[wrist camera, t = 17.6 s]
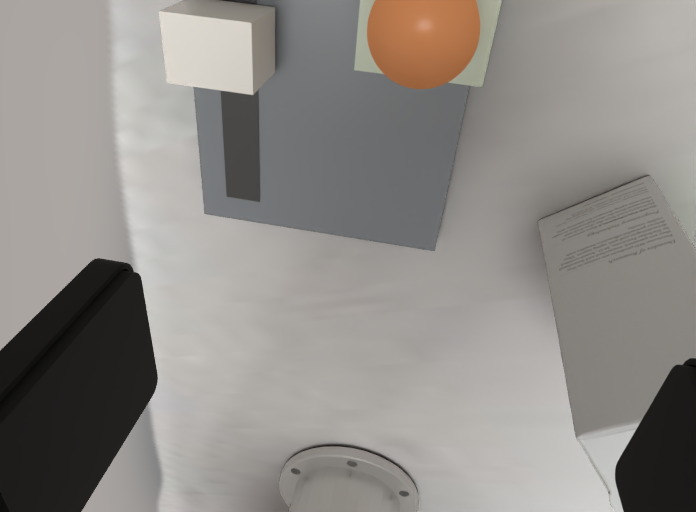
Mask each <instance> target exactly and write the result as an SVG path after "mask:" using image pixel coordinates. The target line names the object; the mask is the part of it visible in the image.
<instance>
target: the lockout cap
mask: <svg viewBox="0 0 696 512" xmlns="http://www.w3.org/2000/svg"><path fill="white" fill-rule="evenodd" d="M479 36H480V16H479V11H478V6H477V0H375V2H374V4H373V6H372V8H371V11H370V14H369V18H368V24H367V41H368V46H369V50H370V53H371V55H372V57H373V60H374V62H375V63H376V65H377V66H378V68H379V69H380V70H381V71H382V72H383V73H384V74H385V75H386V76H387V77H388V78H389V79H391V80H392V81H394V82H395V83H397V84H399V85H402V86H404V87H408V88H412V89H430V88H435V87H438V86H441V85H443V84H445V83H448V82H449V81H451V80H452V79H454V78H455V77H456V76H458V75H459V74H460V73H461V72H462V71H463V70H464V69H465V68H466V66H467V65H468V64H469V62H470V61H471V59H472V57H473V56H474V53H475V51H476V49H477V45H478V42H479Z"/></svg>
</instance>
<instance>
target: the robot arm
mask: <svg viewBox="0 0 696 512" xmlns="http://www.w3.org/2000/svg"><path fill="white" fill-rule="evenodd" d="M157 379H158V377H157V370H156V364H155V358H154V352H153V346H152V340H151V334H150V328H149V322H148V316H147V310H146V304H145V298H144V293H143V287H142V281H141V277H140V275H139V274H138V273H135V272H133V268H132V267H131V265H130V264H128V263H124V262H117V261H112V260H106V259H100V258H98V259H94V260H93V261H91V262H90V263H89V264H88V265H87V266H86V267H85V268H84V269H83V270H82V271H81V272H80V273H79V274H78V275H77V276H76V277H75V278H74V279H73V280H72V281H71V282H70V283H69V284H68V285H67V286H66V287H65V288H64V289H63V290H62V291H61V292H60V293H59V294H58V295H56V296H55V297H54V298H53V299H52V300H51V301H50V302H49V303H48V304H47V305H46V306H45V307H44V308H43V309H42V310H41V311H40V312H39V313H38V314H37V315H36V316H35V317H34V318H33V319H32V320H31V321H30V322H29V323H28V324H27V325H26V326H25V327H24V328H23V329H22V330H21V331H20V332H19V333H18V334H17V335H16V336H15V337H14V338H13V339H12V340H11V341H10V342H9V343H8V344H7V345H6V346H5V347H4V348H3V349H2V350H1V351H0V512H81V511H82V509H83V508H84V506H85V505H86V503H87V501H88V500H89V498H90V496H91V495H92V493H93V492H94V490H95V488H96V487H97V485H98V483H99V482H100V480H101V478H102V477H103V475H104V474H105V472H106V471H107V469H108V467H109V466H110V464H111V462H112V461H113V459H114V457H115V456H116V454H117V453H118V451H119V449H120V448H121V446H122V445H123V443H124V441H125V440H126V438H127V436H128V435H129V433H130V431H131V430H132V428H133V427H134V425H135V423H136V422H137V420H138V419H139V417H140V415H141V414H142V412H143V410H144V409H145V407H146V406H147V404H148V402H149V401H150V399H151V397H152V396H153V394H154V392H155V389H156V385H157ZM615 482H616V486H617V490H618V494H619V497H620V501H621V504H622V508H623V512H696V358H690V359H688V360H686V361H685V362H684V364H683V365H675V366H674V367H673V368H672V369H671V371H670V372H669V374H668V376H667V378H666V379H665V381H664V383H663V384H662V386H661V388H660V390H659V391H658V393H657V395H656V396H655V398H654V400H653V402H652V403H651V405H650V407H649V408H648V410H647V412H646V414H645V415H644V417H643V419H642V420H641V422H640V424H639V426H638V427H637V429H636V431H635V432H634V434H633V436H632V438H631V439H630V441H629V443H628V444H627V446H626V448H625V450H624V451H623V453H622V455H621V456H620V458H619V460H618V462H617V464H616V469H615ZM279 490H280V494H281V497H282V498H283V500H284V502H285V503H286V505H287V506H288V507H289V508H290V509H289V512H417V509H418V492H417V490H416V487H415V485H414V483H413V482H412V481H411V479H410V478H409V477H408V476H407V475H406V474H405V473H404V472H403V471H402V470H401V469H400V468H399V467H397V466H396V465H394V464H393V463H391V462H390V461H388V460H386V459H384V458H382V457H380V456H378V455H375V454H372V453H369V452H367V451H363V450H359V449H354V448H348V447H339V446H326V447H318V448H312V449H309V450H306V451H303V452H300V453H298V454H297V455H295V456H293V457H292V458H291V459H290V460H289V461H288V462H287V463H286V464H285V466H284V468H283V469H282V473H281V476H280V480H279Z"/></svg>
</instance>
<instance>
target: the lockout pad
mask: <svg viewBox="0 0 696 512" xmlns="http://www.w3.org/2000/svg"><path fill="white" fill-rule="evenodd" d="M374 2H375V0H360V7H359V19H358V30H357V42H356V54H355V65H354V70H357V71H364V72H372V73H379V74H384V73H383V72H382V71H381V70H380V69H379V68H378V66H377V65H376V63H375V62H374V60H373V57H372V55H371V53H370V50H369V46H368V41H367V24H368V18H369V14H370V11H371V8H372V6H373V4H374ZM501 3H502V0H477V6H478V11H479V16H480V36H479V42H478V45H477V49H476V51H475V53H474V56H473V57H472V59H471V61H470V62H469V64H468V65H467V66H466V68H465V69H464V70H463V71H462V72H461V73H460V74H459V75H458V76H456V77H455V78H454V79H452V80H451V81H449V82H448V83H454V84H462V85H469V86H477V87H483V82H484V78H485V73H486V69H487V65H488V60H489V56H490V51H491V47H492V42H493V38H494V34H495V29H496V25H497V20H498V16H499V12H500V7H501Z"/></svg>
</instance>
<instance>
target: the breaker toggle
mask: <svg viewBox="0 0 696 512" xmlns="http://www.w3.org/2000/svg"><path fill="white" fill-rule="evenodd" d="M159 18H160V27H161V36H162V45H163V53H164V62H165V71H166V80H167V83H171V84H178V85H185V86H192V87H199V88H206V89H213V90H221V91H228V92H235V93H242V94H249V95H254V94H255V93H256V92H257V90H258V89H259V88H260V87H261V86H262V85H263V84H264V83H265V82H266V81H267V80H268V79H269V78H270V77H271V76H272V75H273V74H274V73H275V7H271V6H263V5H254V4H246V3H238V2H230V1H222V0H184V1H181V2H179V3H177V4H174V5H172V6H170V7H167V8H165V9H162V10H160V11H159Z"/></svg>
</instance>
